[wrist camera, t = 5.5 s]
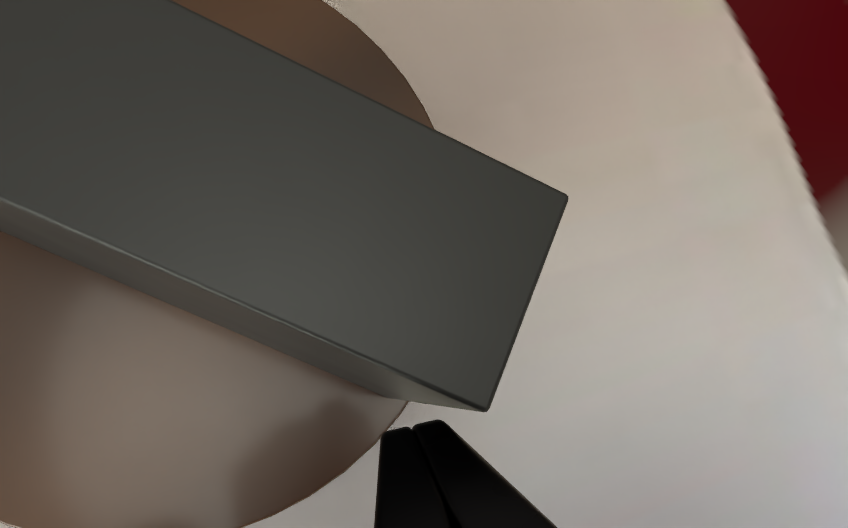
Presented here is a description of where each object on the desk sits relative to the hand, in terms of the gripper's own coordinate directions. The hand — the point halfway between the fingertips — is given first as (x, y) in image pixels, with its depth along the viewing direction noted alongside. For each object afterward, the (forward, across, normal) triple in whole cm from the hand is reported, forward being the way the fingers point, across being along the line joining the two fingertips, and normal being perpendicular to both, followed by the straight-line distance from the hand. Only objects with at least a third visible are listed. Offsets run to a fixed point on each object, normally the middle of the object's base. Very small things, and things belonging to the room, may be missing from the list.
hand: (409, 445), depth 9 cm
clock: (+8, +3, +1) cm, 9 cm away
